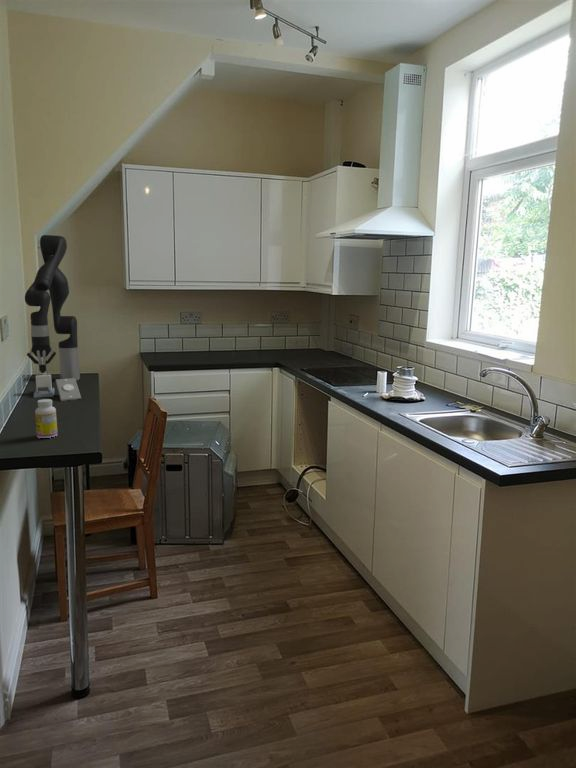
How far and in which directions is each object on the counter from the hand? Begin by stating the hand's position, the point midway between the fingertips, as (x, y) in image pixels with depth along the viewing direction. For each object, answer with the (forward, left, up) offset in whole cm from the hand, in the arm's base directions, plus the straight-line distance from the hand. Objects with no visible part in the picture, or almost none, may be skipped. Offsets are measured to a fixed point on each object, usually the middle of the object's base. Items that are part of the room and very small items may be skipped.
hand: (42, 372), depth 273 cm
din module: (0, 0, -8) cm, 8 cm away
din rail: (0, 0, -8) cm, 8 cm away
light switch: (+5, +15, -10) cm, 19 cm away
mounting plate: (0, 0, -10) cm, 10 cm away
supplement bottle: (+65, +41, -10) cm, 78 cm away
